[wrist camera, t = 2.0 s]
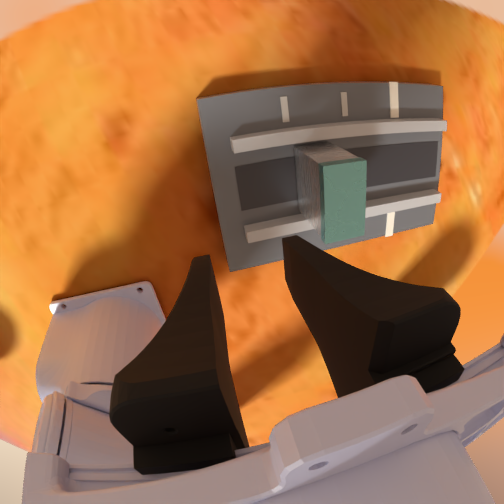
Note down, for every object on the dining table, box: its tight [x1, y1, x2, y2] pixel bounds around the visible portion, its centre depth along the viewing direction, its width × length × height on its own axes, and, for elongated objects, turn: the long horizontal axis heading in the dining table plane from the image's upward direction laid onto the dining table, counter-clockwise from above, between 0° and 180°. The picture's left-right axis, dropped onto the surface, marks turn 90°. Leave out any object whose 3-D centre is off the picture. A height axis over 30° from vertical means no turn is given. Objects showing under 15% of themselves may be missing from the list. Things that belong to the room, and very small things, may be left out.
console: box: [196, 81, 447, 272], centre depth 21 cm, size 18×12×2 cm
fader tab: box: [294, 142, 367, 244], centre depth 18 cm, size 2×4×5 cm, turn 6°
